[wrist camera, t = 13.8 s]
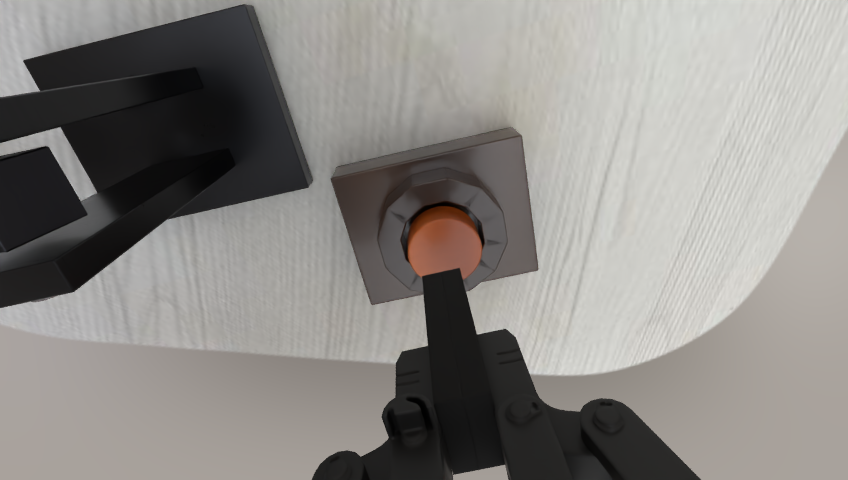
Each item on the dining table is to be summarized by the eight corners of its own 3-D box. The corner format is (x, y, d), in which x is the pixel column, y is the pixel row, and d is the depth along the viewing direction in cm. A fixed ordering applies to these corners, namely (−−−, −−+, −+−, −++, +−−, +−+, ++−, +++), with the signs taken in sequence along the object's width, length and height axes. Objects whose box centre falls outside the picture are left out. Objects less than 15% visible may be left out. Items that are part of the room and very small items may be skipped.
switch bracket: (130, 222, 26) (-130, 401, 13) (41, 59, 22) (-442, 92, 9) (313, 180, 25) (221, 327, 13) (252, 5, 21) (36, -35, 9)
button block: (373, 286, 28) (368, 324, 24) (336, 166, 25) (324, 189, 21) (529, 253, 28) (548, 287, 24) (512, 126, 24) (531, 142, 21)
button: (416, 274, 24) (417, 291, 22) (400, 213, 22) (399, 227, 21) (482, 260, 24) (487, 277, 22) (470, 198, 22) (475, 211, 20)
